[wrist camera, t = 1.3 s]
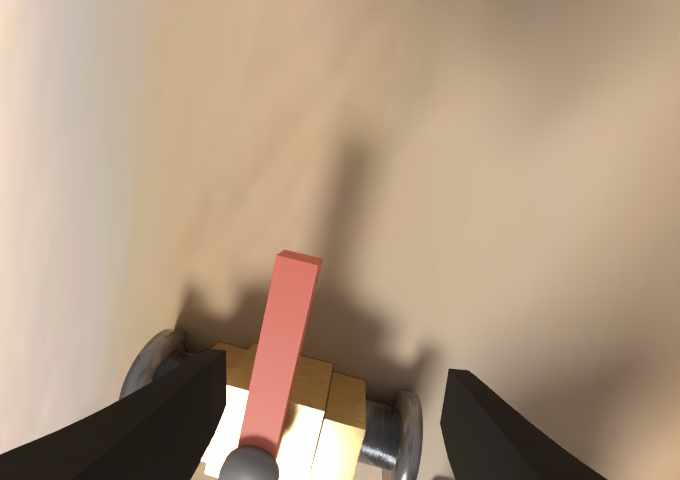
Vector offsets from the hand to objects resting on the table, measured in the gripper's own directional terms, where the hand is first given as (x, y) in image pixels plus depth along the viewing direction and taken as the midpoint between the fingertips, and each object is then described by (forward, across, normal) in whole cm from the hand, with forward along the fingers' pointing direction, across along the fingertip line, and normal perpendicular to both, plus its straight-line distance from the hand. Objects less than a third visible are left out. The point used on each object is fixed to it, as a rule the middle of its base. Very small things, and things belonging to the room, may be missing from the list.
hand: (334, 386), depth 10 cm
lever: (+6, +3, +4) cm, 8 cm away
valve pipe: (+12, +4, +9) cm, 16 cm away
